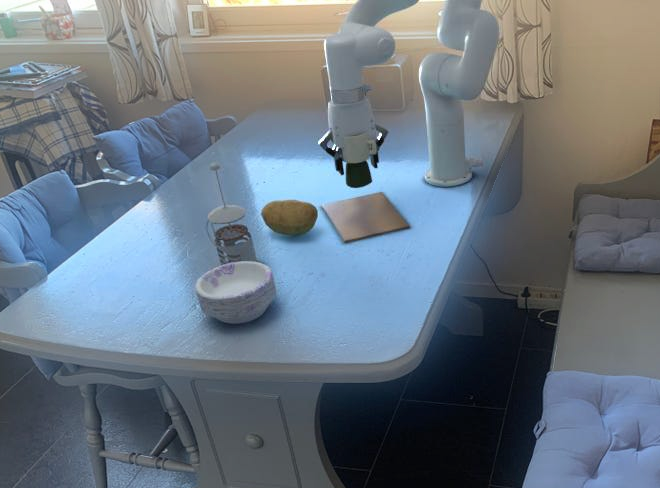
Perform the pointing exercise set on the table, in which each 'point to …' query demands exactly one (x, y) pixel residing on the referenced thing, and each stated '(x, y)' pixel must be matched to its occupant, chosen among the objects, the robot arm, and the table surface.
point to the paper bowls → (236, 291)
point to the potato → (289, 216)
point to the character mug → (357, 160)
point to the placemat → (364, 217)
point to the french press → (230, 232)
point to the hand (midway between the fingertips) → (357, 169)
